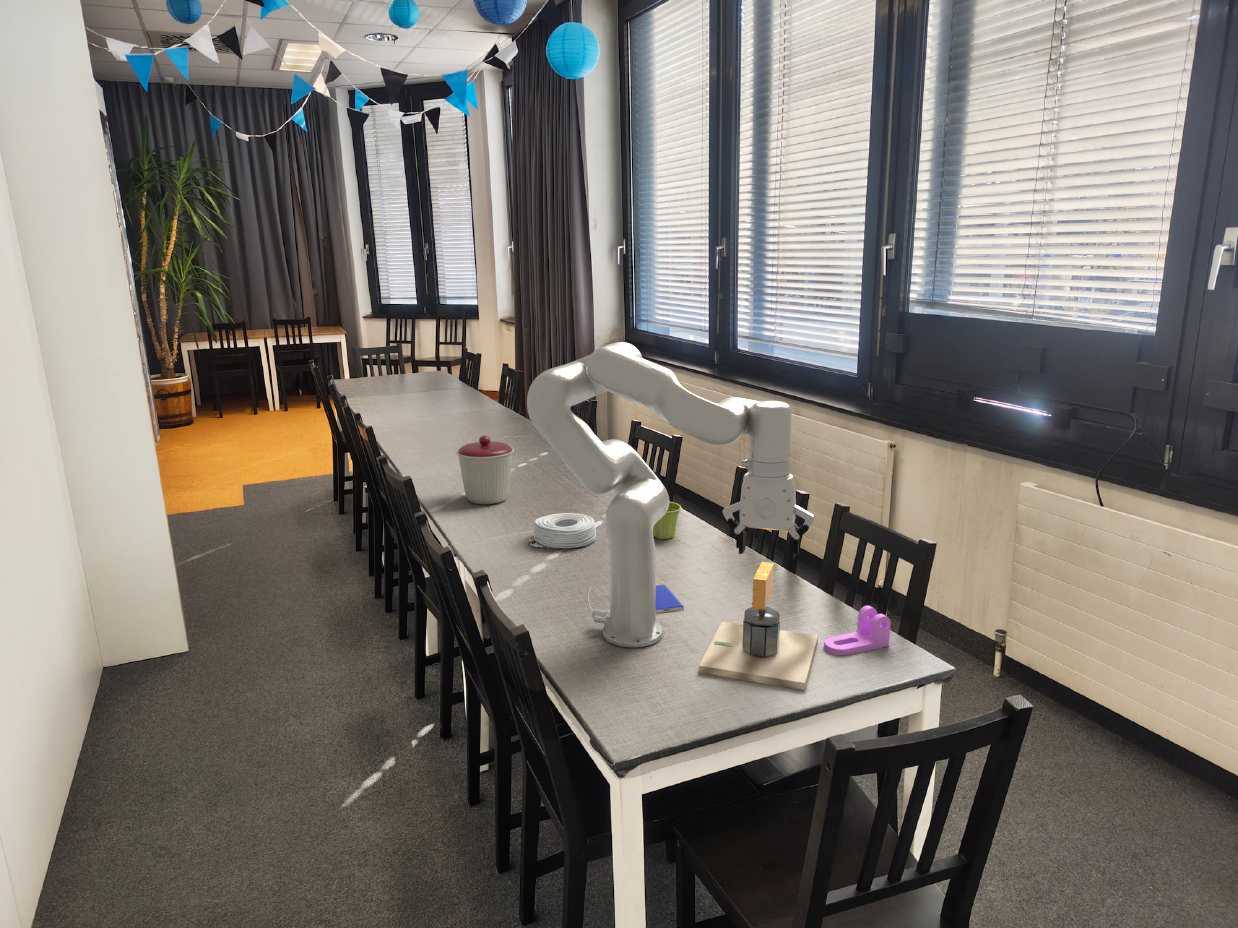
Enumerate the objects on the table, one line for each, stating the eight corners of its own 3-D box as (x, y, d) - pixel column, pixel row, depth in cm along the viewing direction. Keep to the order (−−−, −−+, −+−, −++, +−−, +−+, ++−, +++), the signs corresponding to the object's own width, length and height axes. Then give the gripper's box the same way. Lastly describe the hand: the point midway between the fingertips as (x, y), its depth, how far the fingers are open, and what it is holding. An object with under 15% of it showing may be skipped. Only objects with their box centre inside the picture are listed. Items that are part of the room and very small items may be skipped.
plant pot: (681, 530, 236) (681, 501, 234) (680, 542, 227) (680, 512, 225) (648, 529, 237) (648, 500, 235) (646, 541, 228) (646, 511, 226)
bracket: (871, 634, 174) (873, 604, 172) (888, 646, 169) (891, 615, 167) (818, 645, 169) (820, 614, 167) (834, 657, 164) (836, 625, 162)
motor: (738, 655, 161) (741, 577, 157) (749, 632, 170) (752, 558, 166) (774, 660, 159) (777, 581, 154) (782, 637, 168) (786, 562, 164)
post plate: (698, 672, 158) (699, 634, 156) (721, 627, 177) (722, 593, 175) (804, 690, 152) (807, 650, 150) (817, 642, 170) (819, 606, 168)
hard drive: (632, 588, 195) (649, 609, 183) (665, 584, 197) (684, 605, 186) (632, 594, 195) (649, 616, 184) (665, 590, 197) (683, 611, 186)
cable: (524, 548, 224) (523, 527, 222) (545, 527, 240) (544, 507, 239) (586, 553, 220) (586, 532, 218) (603, 532, 236) (603, 511, 235)
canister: (455, 494, 271) (452, 431, 266) (510, 489, 276) (508, 428, 271) (462, 511, 254) (458, 444, 249) (520, 505, 260) (518, 440, 254)
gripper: (719, 469, 154) (718, 556, 158) (814, 476, 148) (810, 565, 152) (727, 460, 160) (726, 543, 165) (818, 465, 155) (815, 552, 159)
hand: (767, 554), depth 159 cm, fingers open, 9 cm apart
